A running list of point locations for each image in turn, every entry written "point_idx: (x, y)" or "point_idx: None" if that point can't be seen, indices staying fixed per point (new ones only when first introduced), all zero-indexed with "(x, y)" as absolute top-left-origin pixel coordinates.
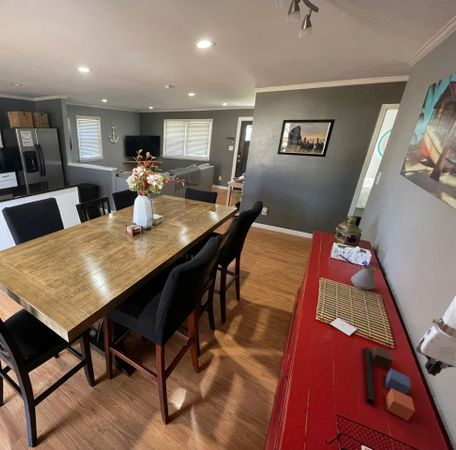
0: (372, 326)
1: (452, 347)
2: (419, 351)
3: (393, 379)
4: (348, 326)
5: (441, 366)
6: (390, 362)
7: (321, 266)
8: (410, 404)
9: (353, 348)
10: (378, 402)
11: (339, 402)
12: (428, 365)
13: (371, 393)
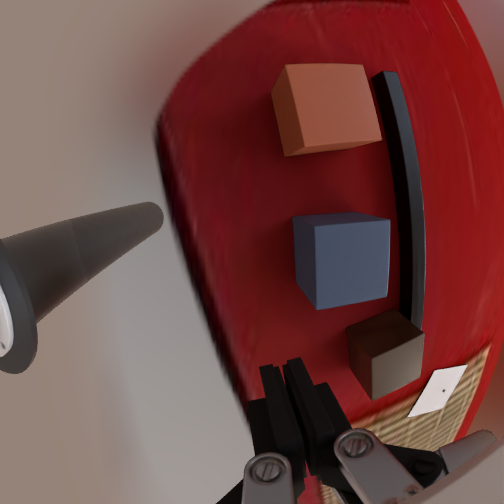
0: None
1: None
2: (477, 443)
3: (379, 220)
4: (426, 404)
5: (279, 467)
6: (370, 347)
7: None
8: (306, 90)
9: (432, 326)
10: None
11: (422, 36)
12: (339, 409)
13: (398, 100)
